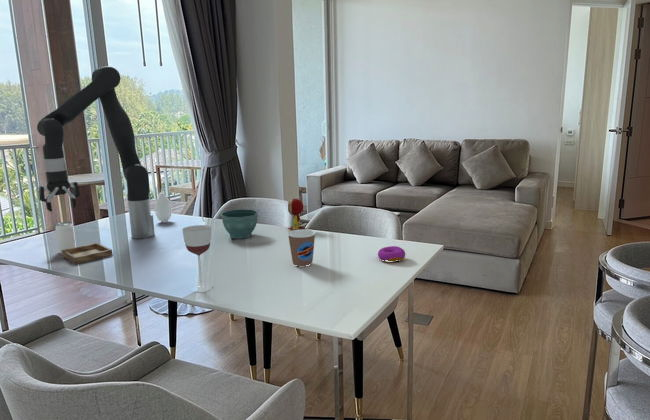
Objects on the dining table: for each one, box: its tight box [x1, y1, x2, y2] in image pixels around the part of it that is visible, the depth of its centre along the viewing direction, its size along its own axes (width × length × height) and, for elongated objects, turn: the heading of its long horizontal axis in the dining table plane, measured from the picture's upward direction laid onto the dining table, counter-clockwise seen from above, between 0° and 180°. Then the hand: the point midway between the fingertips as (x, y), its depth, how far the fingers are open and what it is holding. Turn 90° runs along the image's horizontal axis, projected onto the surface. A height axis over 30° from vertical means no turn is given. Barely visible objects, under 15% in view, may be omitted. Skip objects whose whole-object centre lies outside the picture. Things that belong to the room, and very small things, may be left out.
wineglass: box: [181, 224, 212, 287], centre depth 153 cm, size 8×9×20 cm
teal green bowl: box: [220, 208, 259, 239], centre depth 216 cm, size 16×16×11 cm
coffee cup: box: [287, 228, 317, 266], centre depth 176 cm, size 10×10×12 cm
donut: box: [377, 245, 406, 261], centre depth 180 cm, size 10×10×4 cm
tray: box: [61, 242, 114, 265], centre depth 192 cm, size 14×15×2 cm
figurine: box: [286, 198, 308, 232], centre depth 224 cm, size 9×10×15 cm
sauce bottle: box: [154, 187, 173, 224], centre depth 245 cm, size 8×8×18 cm
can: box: [54, 221, 77, 255], centre depth 197 cm, size 6×6×12 cm
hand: (61, 209), depth 195 cm, fingers open, 8 cm apart
